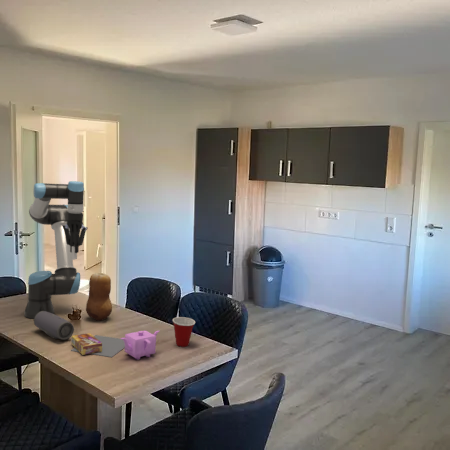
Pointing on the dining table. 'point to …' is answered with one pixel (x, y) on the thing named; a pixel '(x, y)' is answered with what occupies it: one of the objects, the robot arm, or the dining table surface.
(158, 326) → the dining table surface
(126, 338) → the teapot
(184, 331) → the plastic cup
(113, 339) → the mat
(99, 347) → the candy box
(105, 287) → the butternut squash
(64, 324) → the bluetooth speaker
